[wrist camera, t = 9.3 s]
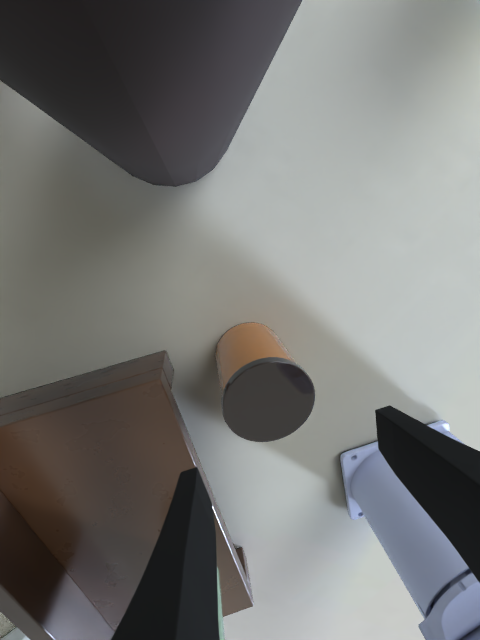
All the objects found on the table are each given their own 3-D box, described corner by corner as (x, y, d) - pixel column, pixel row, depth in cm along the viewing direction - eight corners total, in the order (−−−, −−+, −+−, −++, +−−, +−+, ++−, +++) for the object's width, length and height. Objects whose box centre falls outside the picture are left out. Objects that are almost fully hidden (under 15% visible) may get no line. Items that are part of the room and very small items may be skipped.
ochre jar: (274, 312, 18) (308, 349, 13) (287, 372, 20) (321, 426, 15) (205, 332, 18) (210, 378, 13) (224, 391, 19) (235, 453, 14)
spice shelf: (165, 349, 18) (152, 414, 12) (246, 557, 26) (262, 657, 20) (-13, 401, 17) (-121, 498, 11) (127, 598, 25) (107, 714, 19)
